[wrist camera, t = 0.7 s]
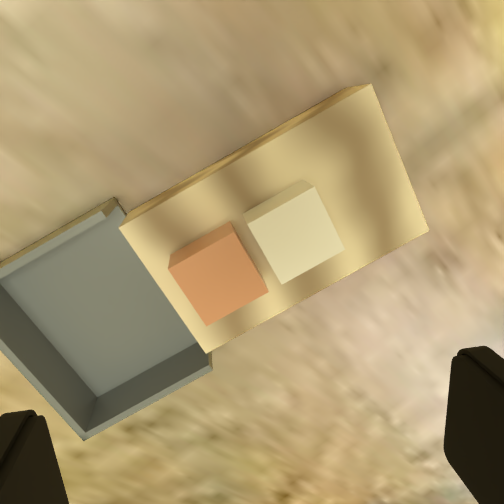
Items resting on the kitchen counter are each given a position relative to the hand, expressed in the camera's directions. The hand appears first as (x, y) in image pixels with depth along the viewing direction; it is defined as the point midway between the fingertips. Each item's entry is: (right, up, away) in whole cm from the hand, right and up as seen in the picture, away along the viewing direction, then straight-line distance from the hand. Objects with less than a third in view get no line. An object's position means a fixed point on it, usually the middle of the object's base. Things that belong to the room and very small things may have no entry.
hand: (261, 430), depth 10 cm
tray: (-13, -1, +27) cm, 30 cm away
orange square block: (-3, +3, +21) cm, 22 cm away
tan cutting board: (+1, +7, +26) cm, 27 cm away
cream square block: (+2, +6, +21) cm, 22 cm away
